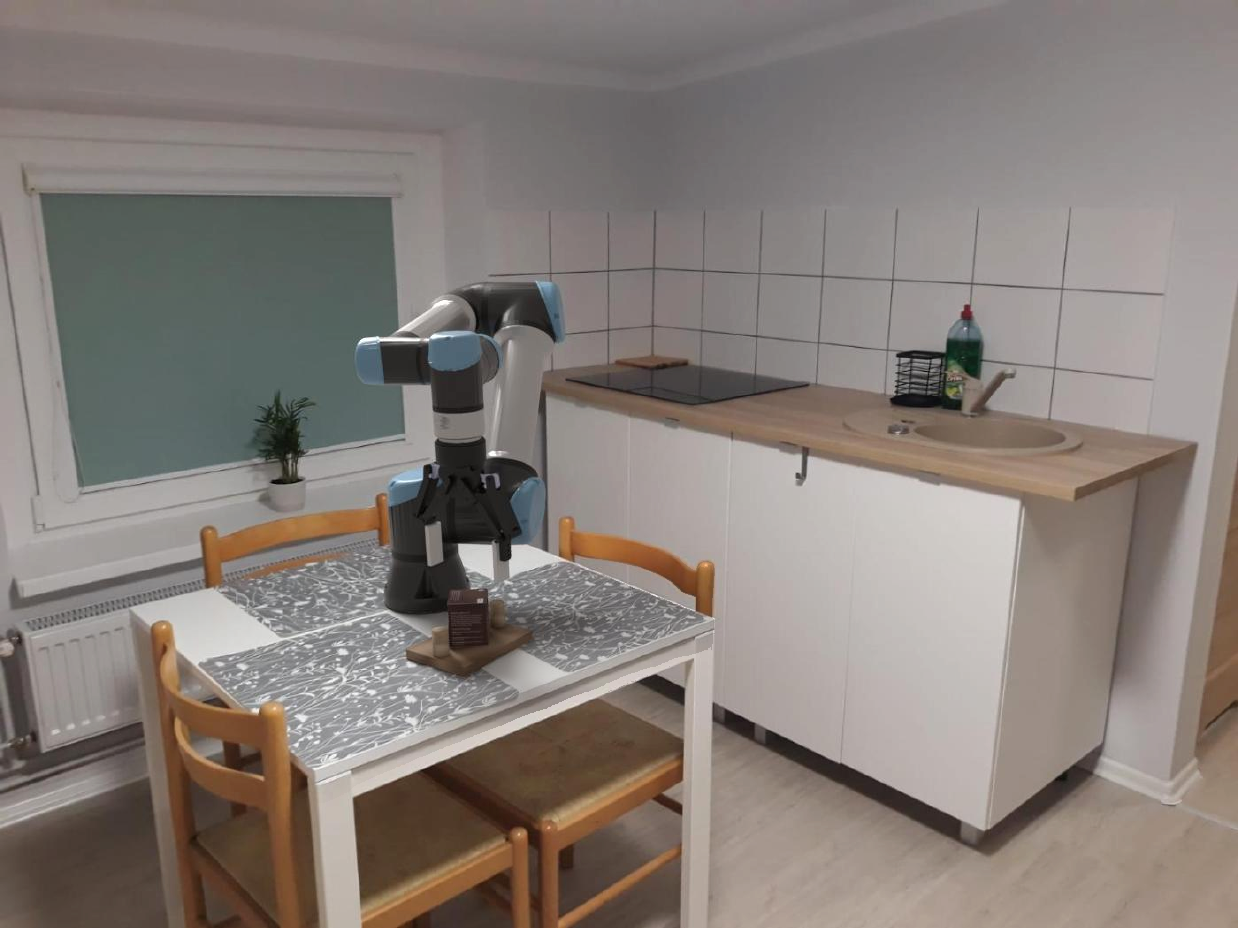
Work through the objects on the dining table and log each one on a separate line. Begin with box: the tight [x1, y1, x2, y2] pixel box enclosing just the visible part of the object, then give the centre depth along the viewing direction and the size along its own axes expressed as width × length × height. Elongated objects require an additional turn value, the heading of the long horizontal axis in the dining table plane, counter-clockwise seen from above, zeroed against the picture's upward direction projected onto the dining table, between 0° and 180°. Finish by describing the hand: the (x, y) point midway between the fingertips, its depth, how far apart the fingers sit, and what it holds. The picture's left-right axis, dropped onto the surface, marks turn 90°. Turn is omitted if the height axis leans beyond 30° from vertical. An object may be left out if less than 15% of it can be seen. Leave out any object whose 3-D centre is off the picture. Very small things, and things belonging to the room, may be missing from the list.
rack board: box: [405, 598, 534, 678], centre depth 153 cm, size 12×16×6 cm
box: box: [447, 588, 490, 648], centre depth 152 cm, size 6×6×7 cm
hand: (467, 571), depth 151 cm, fingers open, 13 cm apart
